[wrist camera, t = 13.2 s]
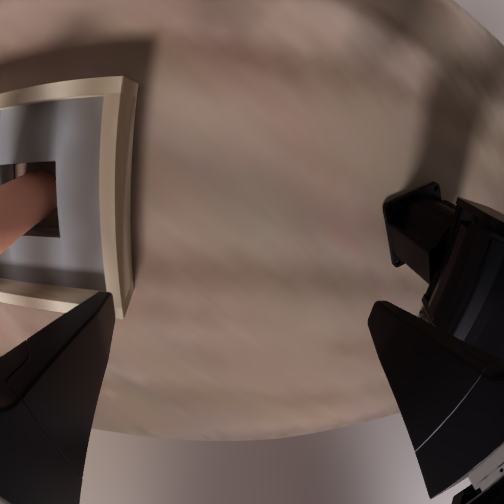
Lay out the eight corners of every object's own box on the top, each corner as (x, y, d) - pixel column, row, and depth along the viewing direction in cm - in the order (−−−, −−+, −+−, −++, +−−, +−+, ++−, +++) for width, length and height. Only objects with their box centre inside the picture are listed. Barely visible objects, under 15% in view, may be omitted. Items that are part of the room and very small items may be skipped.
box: (-8, 273, 20) (-29, 295, 16) (-24, 106, 13) (-53, 110, 10) (133, 290, 23) (123, 319, 19) (138, 83, 16) (122, 75, 13)
